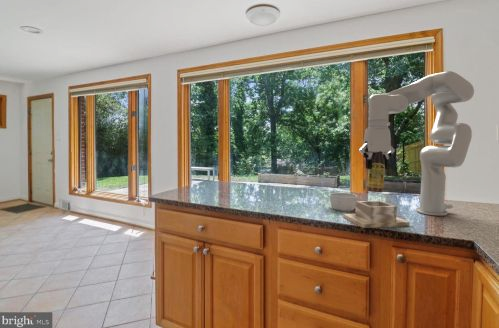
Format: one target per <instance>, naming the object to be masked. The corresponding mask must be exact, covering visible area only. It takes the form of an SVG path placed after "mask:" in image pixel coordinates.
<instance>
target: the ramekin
mask: <svg viewBox="0 0 499 328" xmlns="http://www.w3.org/2000/svg"><path fill="white" fill-rule="evenodd" d="M329 198H330V199H329V200H330V201H329V202H330V207H331V208H332V209H333V210H335V211H342V212H350V211H351V212H352V211H354V210H356V201H358V195H357V194H354V193H348V192H332V193H329Z"/></svg>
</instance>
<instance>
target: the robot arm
mask: <svg viewBox="0 0 499 328" xmlns="http://www.w3.org/2000/svg"><path fill="white" fill-rule="evenodd" d="M474 88H475V87H474V86H473V84H472V83H471V82H470V81H469V80H467V79H466V78H465V77H463V76H462V75H460V74H458V73H456V72H455V71H452V70H451V71H450V70H447V71H443V72H438V73H433V74H428V75H427V76H424V77H422V78H420V79H418V80H417V81H414V82H412V83H409V84H408V85H407V84H406V85H405V86H402V87H400V88H398V89H394V90H392V91H390V92H387V93H376V94H371V95H370V96H369V98H368V123H367V125H368V126H367V128H365V131H364V136H363V141H362V146H361V147H360V148H359V149H358V151H359V153H360V154H361V155H362V157H364V159H365V169H367V170H368V169H372V159H371V157H372V154H373V153H377V152H379V151H381V152H382V153H383V157H384V158H385V170H387V168H388V160H390V157H391V156H392V155H393V153H394V152H396V149H395V148H394V147H393V146H392V142H391V141H392V138H391V130H390V128H389V126H391V122H389V118H390V117H389V115H392V114H400V113H403V112H405V111H406V110H407V108H408V107H409V105H413V104H415V103H419V102H421V101H423V100H425V99H427V98H429V97H430V100H431V102H432V105H433V107H434V108H435V114H436V115H435V119H434V122H433V125H432V128H431V131H430V135H429V140H430V141H431V142H432V143H433V144H437V145H427V146H425V147H423V148H422V149H421V150H420V153H419V160H420V166H421V180H420V201H419V203H420V204H419V207H416V209H415V211H416V212H417V213H420V214H423V215H427V216H428V215H429V216H437V217H440V216H443V217H444V216H447V215H448V214H449V213H448V210H449V209H450V210H451V209H453V208H454V206H453V204H452V203H451V204H447V203H445V196H446V193H445V192H446V178H447V177H446V174H445V171H444V168H459V167H461V166H462V165H463V164H464V162H465V159H466V157H467V154H468V150H469V147H470V144H471V140H472V136H473V132H472V128H471V126H470V125H468V123H463V122H457V121H458V117H459V114H458V111H457V110H456V108H454V106H453V105H452V104H458V103H465V102H467V101H470V100H471V99H472V98H473V97H474V94H475V89H474ZM447 209H448V210H447Z"/></svg>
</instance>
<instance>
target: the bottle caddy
mask: <svg viewBox="0 0 499 328" xmlns="http://www.w3.org/2000/svg"><path fill="white" fill-rule="evenodd" d="M397 208H398V206H397V205H394V204H392V203H391V204H390V203H389V202H385V201H382V200H362V201H361V200H360V201H358V200H356V207H355V209H354V210H355V211H354V213H344V214H343V218H344V219H345V220H347V221H349V222H351V223H354V224H355V225H357V226H359V227H360V228H362V229H372V228H373V229H374V228H375V229H377V228H389V227H390V228H391V227H392V228H393V227H410V225H411V222H410V221H408V220H406V219H403V218H401V217H398V216H397V211H398V210H397Z"/></svg>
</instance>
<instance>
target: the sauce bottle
mask: <svg viewBox="0 0 499 328" xmlns="http://www.w3.org/2000/svg"><path fill="white" fill-rule="evenodd" d="M371 159H372V169H367V184H366V186H367V189H366V190H367V191H368V192H372V193H382V192H383V190H384V187H385V186H384V185H385V170H386V169H385V158H384V157H383V153H382V152H381V151H379V152H377V153H373V154H372V157H371Z"/></svg>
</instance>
